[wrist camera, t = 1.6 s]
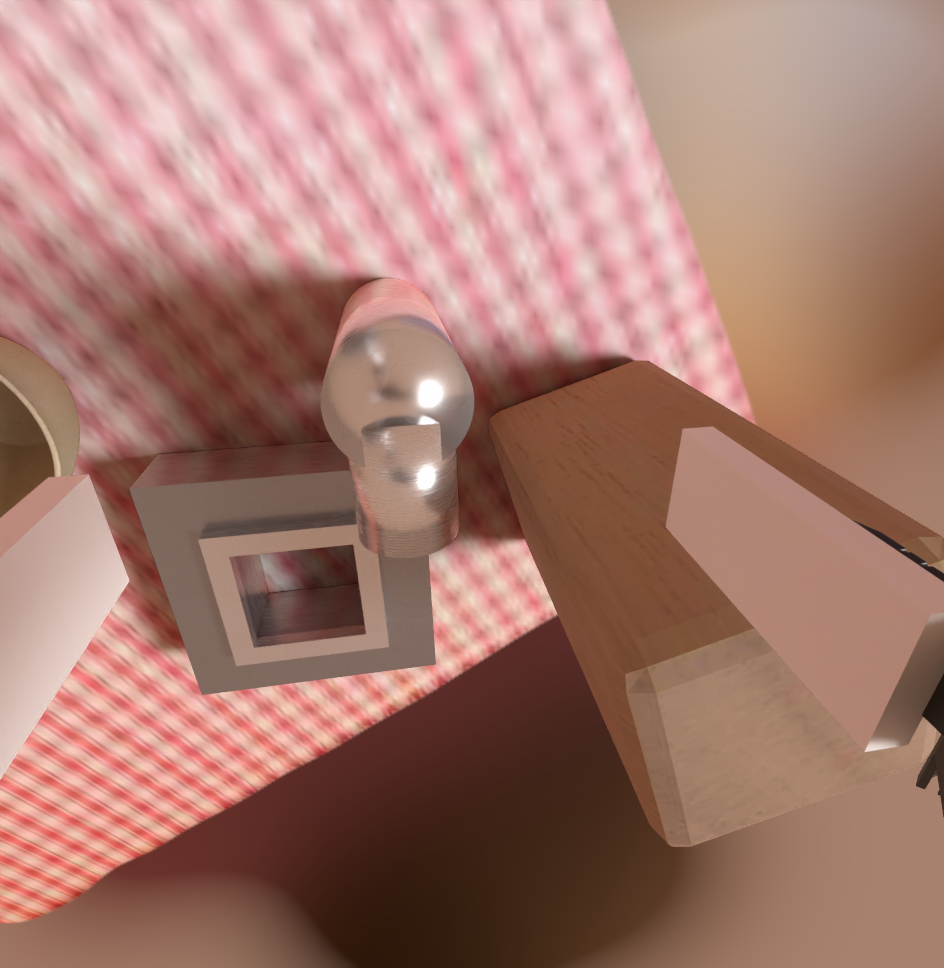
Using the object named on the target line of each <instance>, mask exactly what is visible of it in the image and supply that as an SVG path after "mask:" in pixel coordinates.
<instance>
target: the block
mask: <svg viewBox="0 0 944 968" xmlns="http://www.w3.org/2000/svg"><path fill="white" fill-rule="evenodd" d="M712 426H713V427H714V428H716V429H717V430H719V431H720V432H722V433H723V434H725V435H726V436H728V437H729V438H731V439H732V440H734V441H735V442H737V443H738V444H740V445H741V446H742V447H744V448H745V449H747V450H748V451H750V452H751V453H753V454H754V455H756V456H757V457H759V458H760V459H762V460H763V461H765V462H766V463H768V464H769V465H771V466H772V467H774V468H775V469H777V470H778V471H780V472H781V473H783V474H784V475H786V476H787V477H788V478H790V479H791V480H793V481H794V482H796V483H797V484H799V485H800V486H802V487H803V488H805V489H806V490H808V491H809V492H811V493H812V494H814V495H815V496H817V497H818V498H820V499H821V500H823V501H824V502H826V503H827V504H829V505H830V506H832V507H833V508H835V509H836V510H837V511H839V512H840V513H842V514H843V515H845V516H846V517H848V518H849V519H851V520H853V521H856V522H858V523H861V524H863V525H865V526H868V527H870V528H872V529H875V530H877V531H879V532H882V533H883V534H885V535H886V536H888V537H889V538H891V539H892V540H894V541H895V542H897V543H898V544H900V545H901V546H903V547H904V548H906V551H907V552H912V553H914V554H915V555H917V556H918V557H920V558H921V559H923V560H924V561H926V562H927V565H928V566H933V567H935V568H936V569H938V570H939V571H941V572H942V573H944V538H943V537H942V536H940V535H938V534H937V533H935V532H933V531H932V530H930V529H928V528H927V527H925V526H923V525H922V524H920V523H918V522H917V521H915V520H913V519H911V518H910V517H908V516H907V515H905V514H903V513H902V512H900V511H898V510H897V509H895V508H893V507H892V506H890V505H888V504H887V503H885V502H883V501H882V500H880V499H878V498H877V497H875V496H873V495H872V494H870V493H868V492H867V491H865V490H863V489H861V488H860V487H858V486H856V485H855V484H853V483H851V482H850V481H848V480H846V479H845V478H843V477H841V476H840V475H838V474H836V473H835V472H833V471H831V470H830V469H828V468H826V467H825V466H823V465H821V464H820V463H818V462H816V461H815V460H813V459H811V458H809V457H808V456H806V455H805V454H803V453H801V452H800V451H798V450H796V449H794V448H793V447H791V446H790V445H788V444H786V443H785V442H783V441H781V440H779V439H778V438H776V437H774V436H773V435H771V434H770V433H768V432H766V431H765V430H763V429H761V428H760V427H758V426H756V425H755V424H753V423H751V422H750V421H748V420H746V419H745V418H743V417H741V416H739V415H738V414H736V413H734V412H733V411H731V410H729V409H728V408H726V407H724V406H723V405H721V404H719V403H718V402H716V401H714V400H713V399H711V398H709V397H708V396H706V395H704V394H703V393H701V392H699V391H698V390H696V389H694V388H693V387H691V386H689V385H688V384H686V383H684V382H683V381H681V380H679V379H678V378H676V377H674V376H673V375H671V374H669V373H668V372H666V371H664V370H663V369H661V368H659V367H658V366H656V365H654V364H653V363H651V362H649V361H633V362H630V363H627V364H625V365H622V366H619V367H617V368H614V369H611V370H608V371H606V372H603V373H600V374H598V375H595V376H592V377H590V378H587V379H584V380H582V381H579V382H576V383H574V384H571V385H568V386H565V387H563V388H560V389H557V390H555V391H552V392H549V393H547V394H544V395H541V396H539V397H536V398H533V399H530V400H528V401H525V402H522V403H520V404H517V405H514V406H512V407H509V408H506V409H504V410H501V411H499V412H497V413H496V414H495V415H493V416H492V417H491V418H490V423H489V435H490V438H491V441H492V444H493V447H494V450H495V453H496V456H497V458H498V461H499V464H500V467H501V470H502V473H503V476H504V479H505V482H506V485H507V488H508V491H509V493H510V496H511V499H512V502H513V505H514V508H515V511H516V514H517V517H518V520H519V523H520V526H521V528H522V531H523V534H524V537H525V540H526V543H527V545H528V547H529V549H530V552H531V554H532V556H533V559H534V561H535V563H536V565H537V568H538V570H539V572H540V575H541V577H542V579H543V581H544V584H545V586H546V588H547V591H548V593H549V595H550V597H551V600H552V602H553V604H554V607H555V609H556V611H557V613H558V616H559V618H560V620H561V623H562V625H563V627H564V629H565V631H566V634H567V636H568V638H569V640H570V643H571V645H572V648H573V650H574V652H575V655H576V657H577V659H578V661H579V664H580V666H581V668H582V671H583V673H584V675H585V677H586V679H587V682H588V684H589V686H590V689H591V691H592V693H593V695H594V698H595V700H596V702H597V705H598V707H599V709H600V711H601V714H602V716H603V718H604V721H605V723H606V725H607V728H608V730H609V732H610V734H611V737H612V739H613V741H614V744H615V746H616V748H617V750H618V753H619V755H620V757H621V760H622V762H623V764H624V766H625V769H626V771H627V773H628V776H629V778H630V780H631V782H632V784H633V787H634V789H635V791H636V794H637V796H638V798H639V801H640V803H641V805H642V808H643V810H644V812H645V814H646V817H647V819H648V821H649V824H650V825H651V826H652V827H653V829H654V830H655V831H656V832H657V833H658V834H659V835H660V836H661V837H662V838H663V839H664V840H665V841H666V842H667V843H668V844H669V845H670V846H672V847H674V846H675V847H691V846H693V845H696V844H699V843H701V842H705V841H707V840H710V839H713V838H716V837H719V836H721V835H724V834H727V833H730V832H732V831H735V830H738V829H741V828H744V827H746V826H749V825H752V824H755V823H758V822H761V821H764V820H766V819H769V818H772V817H775V816H778V815H780V814H783V813H786V812H789V811H792V810H794V809H797V808H800V807H803V806H806V805H808V804H811V803H814V802H817V801H820V800H823V799H825V798H828V797H831V796H834V795H837V794H839V793H842V792H845V791H848V790H851V789H853V788H856V787H859V786H862V785H865V784H868V783H870V782H873V781H876V780H879V779H882V778H884V777H887V776H890V775H893V774H896V773H898V772H901V771H904V770H907V769H909V768H912V767H915V766H917V765H919V764H921V763H922V762H923V760H924V759H925V758H926V757H927V756H928V754H929V753H930V752H931V751H932V750H933V747H934V741H935V736H936V730H937V729H936V728H935V727H934V726H932V725H931V724H930V723H929V722H928V721H927V720H926V719H925V718H924V717H923V718H922V720H921V722H920V724H919V725H918V727H917V729H916V731H915V733H914V735H913V737H912V739H911V740H910V742H909V744H908V745H905V746H899V747H893V748H887V749H880V750H874V751H868V752H864V751H863V750H862V749H861V748H860V747H859V746H858V745H857V743H856V742H855V741H854V740H853V739H852V738H851V737H850V735H849V734H848V733H847V732H846V731H845V730H844V729H843V728H842V726H841V725H840V724H839V723H838V722H837V721H836V720H835V718H834V717H833V716H832V715H831V714H830V713H829V712H828V711H827V709H826V708H825V707H824V706H823V705H822V704H821V703H820V701H819V700H818V699H817V698H816V697H815V696H814V695H813V694H812V692H811V691H810V690H809V689H808V688H807V687H806V686H805V684H804V683H803V682H802V681H801V680H800V679H799V678H798V677H797V675H796V674H795V673H794V672H793V671H792V670H791V669H790V667H789V666H788V665H787V664H786V663H785V662H784V661H783V660H782V658H781V657H780V656H779V655H778V654H777V653H776V652H775V650H774V649H773V648H772V647H771V646H770V645H769V644H768V643H767V641H766V640H765V639H764V638H763V637H762V636H761V635H760V633H759V632H758V631H757V630H756V629H755V628H754V627H753V626H752V624H751V623H750V622H749V621H748V620H747V619H746V618H745V616H744V615H743V614H742V613H741V612H740V611H739V610H738V609H737V607H736V606H735V605H734V604H733V603H732V602H731V601H730V600H729V598H728V597H727V596H726V595H725V594H724V593H723V592H722V590H721V589H720V588H719V587H718V586H717V585H716V584H715V583H714V581H713V580H712V579H711V578H710V577H709V576H708V575H707V573H706V572H705V571H704V570H703V569H702V568H701V567H700V566H699V564H698V563H697V562H696V561H695V560H694V559H693V558H692V556H691V555H690V554H689V553H688V552H687V551H686V550H685V549H684V547H683V546H682V545H681V544H680V543H679V542H678V541H677V539H676V538H675V537H674V536H673V535H672V534H671V533H670V532H669V530H668V529H667V528H666V521H667V516H668V510H669V504H670V498H671V493H672V487H673V481H674V476H675V470H676V464H677V458H678V453H679V447H680V441H681V436H682V430H683V429H685V428H699V427H712Z"/></svg>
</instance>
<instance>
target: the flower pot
mask: <svg viewBox="0 0 944 968" xmlns="http://www.w3.org/2000/svg"><path fill="white" fill-rule="evenodd" d="M79 442H80V425H79V417H78V411H77V407H76V404H75V401H74V398H73V396H72V393H71V391H70V389H69V388H68V386H67V384H66V382H65V381H64V379H63V378H62V377H61V376H60V374H59V373H58V372H57V371H56V370H55V369H54V368H53V367H52V366H51V365H50V364H49V363H47V362H46V361H45V360H44V359H42V358H41V357H40V356H38V355H37V354H35V353H34V352H32V351H30V350H28V349H27V348H25V347H23V346H21V345H19V344H17V343H15V342H13V341H11V340H8V339H6V338H3V337H1V336H0V518H1V517H2V516H3V515H4V514H6V513H7V512H8V511H9V510H10V509H11V508H13V507H14V506H15V505H16V504H17V503H19V502H20V501H21V500H22V499H23V498H25V497H26V496H27V495H28V494H29V493H30V492H32V491H33V490H34V489H35V488H36V487H38V486H39V485H40V484H41V483H42V482H44V481H45V480H46V479H47V478H48V477H59V476H72V474H73V471H74V468H75V464H76V461H77V456H78V451H79Z"/></svg>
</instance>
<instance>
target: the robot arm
mask: <svg viewBox="0 0 944 968" xmlns="http://www.w3.org/2000/svg"><path fill="white" fill-rule="evenodd" d="M666 528H667V529H668V530H669V532H670V533H671V534H672V535H673V536H674V537H675V538H676V539H677V541H678V542H679V543H680V544H681V545H682V546H683V547H684V549H685V550H686V551H687V552H688V553H689V554H690V555H691V556H692V558H693V559H694V560H695V561H696V562H697V563H698V564H699V566H700V567H701V568H702V569H703V570H704V571H705V572H706V573H707V575H708V576H709V577H710V578H711V579H712V580H713V581H714V583H715V584H716V585H717V586H718V587H719V588H720V589H721V590H722V592H723V593H724V594H725V595H726V596H727V597H728V598H729V600H730V601H731V602H732V603H733V604H734V605H735V606H736V607H737V609H738V610H739V611H740V612H741V613H742V614H743V615H744V616H745V618H746V619H747V620H748V621H749V622H750V623H751V624H752V626H753V627H754V628H755V629H756V630H757V631H758V632H759V633H760V635H761V636H762V637H763V638H764V639H765V640H766V641H767V643H768V644H769V645H770V646H771V647H772V648H773V649H774V650H775V652H776V653H777V654H778V655H779V656H780V657H781V658H782V660H783V661H784V662H785V663H786V664H787V665H788V666H789V667H790V669H791V670H792V671H793V672H794V673H795V674H796V675H797V677H798V678H799V679H800V680H801V681H802V682H803V683H804V684H805V686H806V687H807V688H808V689H809V690H810V691H811V692H812V694H813V695H814V696H815V697H816V698H817V699H818V700H819V701H820V703H821V704H822V705H823V706H824V707H825V708H826V709H827V711H828V712H829V713H830V714H831V715H832V716H833V717H834V718H835V720H836V721H837V722H838V723H839V724H840V725H841V726H842V728H843V729H844V730H845V731H846V732H847V733H848V734H849V735H850V737H851V738H852V739H853V740H854V741H855V742H856V743H857V745H858V746H859V747H860V748H861V749H862V750H863V751H864V752H868V751H874V750H880V749H887V748H893V747H899V746H905V745H908V744H909V742H910V740H911V739H912V737H913V735H914V733H915V731H916V729H917V727H918V725H919V724H920V722H921V720H922V718H923V717H924V718H925V719H926V720H927V721H928V722H929V723H930V724H931V725H932V726H934V727H935V728H936V729H937V730H938V731H939V732H940V733H941V736H940V738H939V740H938V742H937V743H936V745H935V747H934V749H933V750H932V752H931V754H930V756H929V757H928V759H927V761H926V763H925V764H924V766H923V768H922V770H921V771H920V773H919V775H918V780H917V783H916V786H917V787H920V788H923V789H925V788H926V787H927V785H928V783H929V782H930V780H931V778H932V777H934V776H938V782H939V789H940V790H939V792H938V795H940V796H941V802H942V809H943V816H944V573H942V572H941V571H939V570H938V569H936V568H935V567H933V566H928V565H927V562H926V561H924V560H923V559H921V558H920V557H918V556H917V555H915V554H914V553H912V552H907V551H906V548H904V547H903V546H901V545H900V544H898V543H897V542H895V541H894V540H892V539H891V538H889V537H888V536H886V535H885V534H883V533H882V532H879V531H877V530H875V529H872V528H870V527H868V526H865V525H863V524H861V523H858V522H856V521H853V520H851V519H849V518H848V517H846V516H845V515H843V514H842V513H840V512H839V511H837V510H836V509H835V508H833V507H832V506H830V505H829V504H827V503H826V502H824V501H823V500H821V499H820V498H818V497H817V496H815V495H814V494H812V493H811V492H809V491H808V490H806V489H805V488H803V487H802V486H800V485H799V484H797V483H796V482H794V481H793V480H791V479H790V478H788V477H787V476H786V475H784V474H783V473H781V472H780V471H778V470H777V469H775V468H774V467H772V466H771V465H769V464H768V463H766V462H765V461H763V460H762V459H760V458H759V457H757V456H756V455H754V454H753V453H751V452H750V451H748V450H747V449H745V448H744V447H742V446H741V445H740V444H738V443H737V442H735V441H734V440H732V439H731V438H729V437H728V436H726V435H725V434H723V433H722V432H720V431H719V430H717V429H716V428H714V427H713V426H712V427H699V428H685V429H683V430H682V436H681V441H680V447H679V453H678V458H677V464H676V470H675V476H674V481H673V487H672V493H671V498H670V504H669V510H668V516H667V521H666ZM128 583H129V578H128V576H127V573H126V570H125V568H124V565H123V562H122V560H121V557H120V555H119V552H118V549H117V547H116V544H115V542H114V539H113V536H112V534H111V531H110V529H109V526H108V523H107V521H106V518H105V515H104V513H103V510H102V508H101V505H100V502H99V500H98V497H97V495H96V492H95V489H94V487H93V484H92V481H91V479H90V476H89V474H85V475H72V476H59V477H48V478H47V479H46V480H45V481H44V482H42V483H41V484H40V485H39V486H38V487H36V488H35V489H34V490H33V491H32V492H30V493H29V494H28V495H27V496H26V497H25V498H23V499H22V500H21V501H20V502H19V503H17V504H16V505H15V506H14V507H13V508H11V509H10V510H9V511H8V512H7V513H6V514H4V515H3V516H2V517H1V518H0V779H1V778H2V776H3V775H4V773H5V771H6V770H7V768H8V767H9V765H10V764H11V762H12V761H13V759H14V758H15V756H16V755H17V753H18V751H19V750H20V748H21V747H22V745H23V744H24V742H25V741H26V739H27V738H28V736H29V735H30V733H31V732H32V730H33V728H34V727H35V725H36V724H37V722H38V721H39V719H40V718H41V716H42V715H43V713H44V712H45V710H46V709H47V707H48V705H49V704H50V702H51V701H52V699H53V698H54V696H55V695H56V693H57V692H58V690H59V689H60V687H61V685H62V684H63V682H64V681H65V679H66V678H67V676H68V675H69V673H70V672H71V670H72V669H73V667H74V666H75V664H76V662H77V661H78V659H79V658H80V656H81V655H82V653H83V652H84V650H85V649H86V647H87V646H88V644H89V642H90V641H91V639H92V638H93V636H94V635H95V633H96V632H97V630H98V629H99V627H100V626H101V624H102V623H103V621H104V619H105V618H106V616H107V615H108V613H109V612H110V610H111V609H112V607H113V606H114V604H115V603H116V601H117V600H118V598H119V596H120V595H121V593H122V592H123V590H124V589H125V587H126V586H127V584H128Z"/></svg>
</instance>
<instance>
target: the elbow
mask: <svg viewBox="0 0 944 968" xmlns="http://www.w3.org/2000/svg"><path fill="white" fill-rule="evenodd" d="M320 404H321V413H322V418H323V422H324V424H325V427H326V430H327V432H328V433H329V435H330V437H331V439H332V440H333V442H334V443H335V444H336V446H337V447H338V448H339V449H340V450H341V451H342V452H343V453H344V454H345V455H346V456H347V457H348V462H349V470H350V477H351V484H352V492H353V499H354V506H355V513H356V521H357V528H358V535H359V540H360V542H361V543H362V545H363V546H364V547H365V548H367V549H368V550H369V551H371V552H373V553H376V554H378V555H382V556H386V557H391V558H413V557H420V556H424V555H428V554H431V553H434V552H436V551H439V550H441V549H443V548H444V547H446V546H447V545H449V544H450V543H451V542H452V541H453V540H454V539H455V538H456V536H457V534H458V531H459V513H458V483H457V453H456V449H457V447H458V446H459V445H460V444H461V442H462V441H463V439H464V438H465V436H466V434H467V432H468V430H469V428H470V425H471V422H472V418H473V413H474V391H473V387H472V382H471V380H470V377H469V374H468V372H467V370H466V368H465V366H464V364H463V362H462V361H461V359H460V357H459V355H458V353H457V351H456V349H455V347H454V345H453V343H452V342H451V340H450V338H449V336H448V334H447V332H446V330H445V328H444V326H443V324H442V323H441V321H440V319H439V317H438V315H437V313H436V311H435V309H434V307H433V305H432V304H431V302H430V300H429V299H428V298H427V296H426V295H425V294H424V293H423V292H422V291H421V290H420V289H418V288H417V287H415V286H414V285H412V284H410V283H408V282H406V281H403V280H400V279H394V278H382V279H377V280H373V281H371V282H368V283H366V284H364V285H363V286H361V287H360V288H359V289H357V290H356V291H355V292H354V293H353V294H352V296H351V297H350V298H349V300H348V302H347V303H346V305H345V308H344V311H343V314H342V317H341V321H340V324H339V328H338V331H337V335H336V338H335V342H334V345H333V349H332V352H331V356H330V359H329V363H328V366H327V370H326V373H325V377H324V380H323V384H322V389H321V399H320Z"/></svg>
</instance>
